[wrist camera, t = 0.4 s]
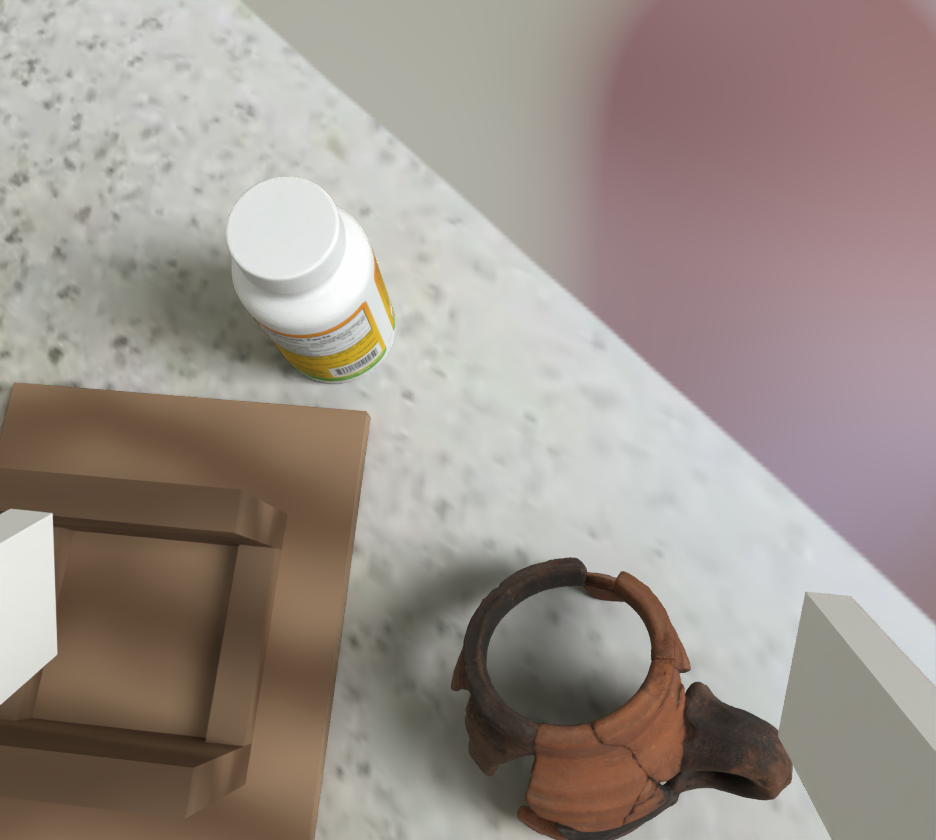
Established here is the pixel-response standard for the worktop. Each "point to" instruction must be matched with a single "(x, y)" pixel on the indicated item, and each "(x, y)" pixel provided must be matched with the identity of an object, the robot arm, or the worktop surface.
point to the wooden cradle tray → (179, 613)
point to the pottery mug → (615, 726)
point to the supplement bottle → (310, 279)
